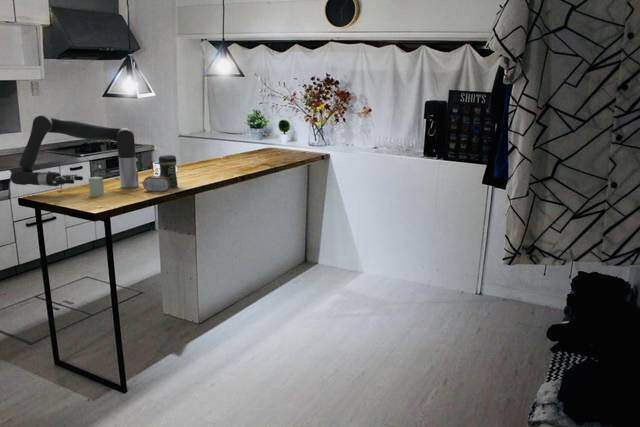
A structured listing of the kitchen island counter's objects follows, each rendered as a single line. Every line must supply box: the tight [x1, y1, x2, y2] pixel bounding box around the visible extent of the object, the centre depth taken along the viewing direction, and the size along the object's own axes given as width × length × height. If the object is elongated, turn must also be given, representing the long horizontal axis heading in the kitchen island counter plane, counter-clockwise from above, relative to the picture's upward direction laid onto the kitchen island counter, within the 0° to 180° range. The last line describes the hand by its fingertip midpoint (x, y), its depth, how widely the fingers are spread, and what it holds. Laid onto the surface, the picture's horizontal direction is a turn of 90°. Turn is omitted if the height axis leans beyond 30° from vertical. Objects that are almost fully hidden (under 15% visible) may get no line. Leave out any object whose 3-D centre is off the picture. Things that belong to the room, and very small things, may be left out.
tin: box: [142, 175, 171, 193], centre depth 296 cm, size 15×3×8 cm, turn 92°
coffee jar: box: [158, 154, 178, 189], centre depth 306 cm, size 10×8×19 cm
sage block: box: [88, 176, 105, 197], centre depth 283 cm, size 5×5×10 cm
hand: (78, 179), depth 283 cm, fingers open, 8 cm apart
